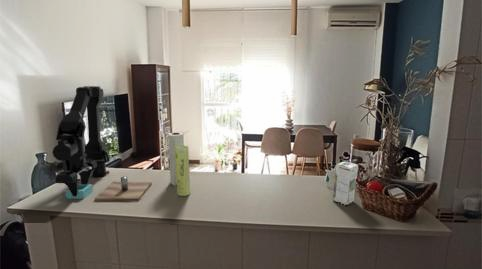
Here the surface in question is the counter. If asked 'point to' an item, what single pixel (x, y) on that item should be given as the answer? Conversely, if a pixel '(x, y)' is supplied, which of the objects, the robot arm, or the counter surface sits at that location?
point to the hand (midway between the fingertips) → (79, 192)
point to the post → (124, 183)
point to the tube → (182, 170)
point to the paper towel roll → (174, 139)
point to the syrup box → (345, 182)
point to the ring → (80, 192)
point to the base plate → (124, 192)
